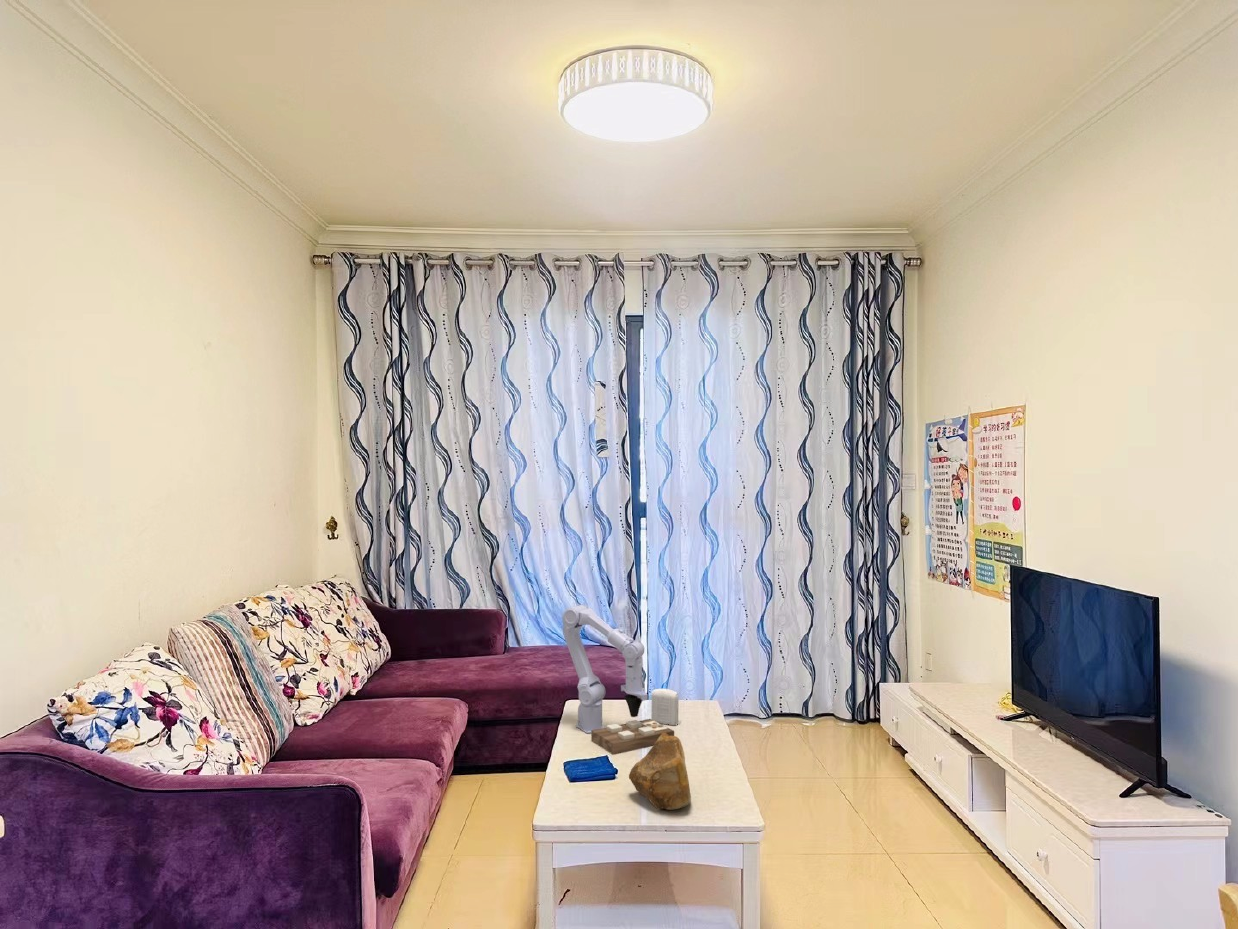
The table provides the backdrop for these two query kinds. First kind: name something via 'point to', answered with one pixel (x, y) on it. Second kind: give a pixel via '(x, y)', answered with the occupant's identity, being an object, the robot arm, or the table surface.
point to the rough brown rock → (663, 774)
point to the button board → (639, 741)
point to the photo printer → (665, 706)
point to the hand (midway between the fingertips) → (634, 716)
